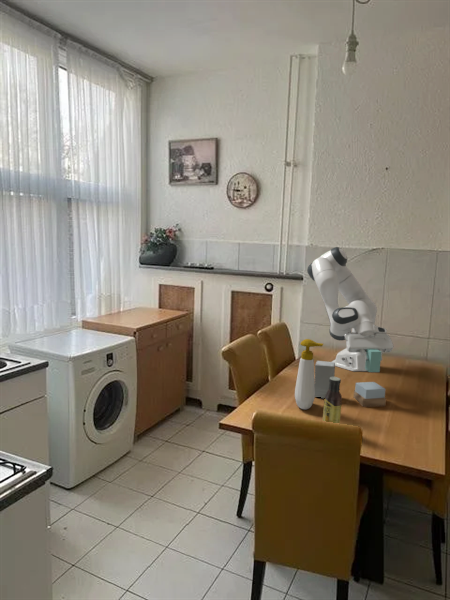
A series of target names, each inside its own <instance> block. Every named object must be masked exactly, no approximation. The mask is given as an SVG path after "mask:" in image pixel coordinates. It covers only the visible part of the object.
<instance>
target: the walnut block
mask: <svg viewBox="0 0 450 600" xmlns="http://www.w3.org/2000/svg"><path fill="white" fill-rule="evenodd" d="M354 398H355V399H356V400H357V401H358V402H359V403H358V402H357V401H356V400H355V399H354ZM353 399H354V400H355V401H356V402H357V403H358V404H360V405H361V406H362V408H364V407H366V408H367V407H370V408H371V407H386V402H387V398H386V397H385V398H371V399H365V398H364V397H362V396H361V395H359V394H358V393H357V392H355V389H354V390H353Z"/></svg>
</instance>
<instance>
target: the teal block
mask: <svg viewBox="0 0 450 600" xmlns="http://www.w3.org/2000/svg"><path fill="white" fill-rule="evenodd" d="M366 355H368V356H369V360H368V361H366V363H365V369H366V370H367V371H366V372H368V373H380V371H381V362H382V360H381V351H379V350H377V349H367V352H366Z"/></svg>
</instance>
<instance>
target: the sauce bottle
mask: <svg viewBox="0 0 450 600" xmlns="http://www.w3.org/2000/svg"><path fill="white" fill-rule="evenodd" d="M329 382H330V383H329V389H328V391H327V394H326V396H325V399H324V398H323V399H324V401H323V411H322V412H323V413H322V421H326V422H333V423H340V422H341V415H342V413H341V412H342V394H341V392H340V386H341V382H342V380H341V378H340V377H337V376H334V377H330V378H329Z"/></svg>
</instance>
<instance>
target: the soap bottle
mask: <svg viewBox="0 0 450 600" xmlns="http://www.w3.org/2000/svg"><path fill="white" fill-rule="evenodd" d="M299 345H300V346H301V347H302V346H303V347H305V350H303V351H301V355H300V359H299V364H298V370H297V377H296V382H295V388H294V399H295V403H296V406H297V407H298V408H300V409H301V410H309V409H310V408H311V407H312V405H313V403H314V401H315V359H314V352H313V351H312V350H310V348H312V347H313V348H315V347H321V348H322V347H323V346H324V343H321V342H316V341H314V340H313V339H310V338H305V339H303V340H301V341H300V344H299Z"/></svg>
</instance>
